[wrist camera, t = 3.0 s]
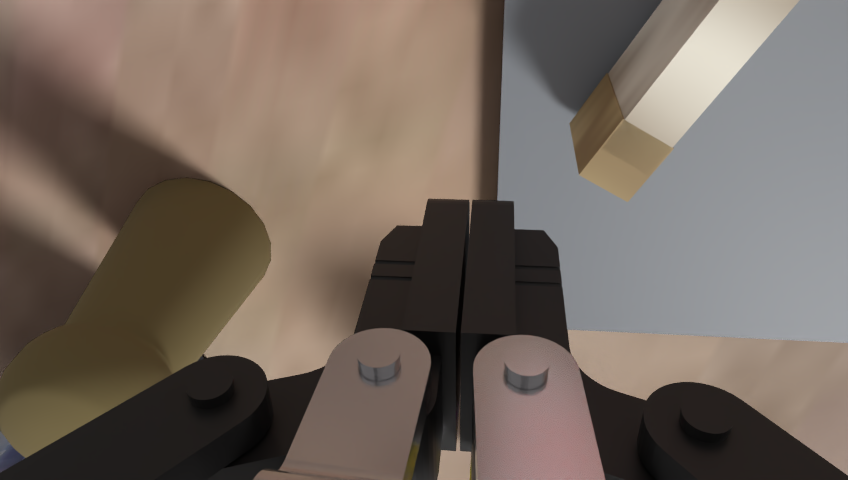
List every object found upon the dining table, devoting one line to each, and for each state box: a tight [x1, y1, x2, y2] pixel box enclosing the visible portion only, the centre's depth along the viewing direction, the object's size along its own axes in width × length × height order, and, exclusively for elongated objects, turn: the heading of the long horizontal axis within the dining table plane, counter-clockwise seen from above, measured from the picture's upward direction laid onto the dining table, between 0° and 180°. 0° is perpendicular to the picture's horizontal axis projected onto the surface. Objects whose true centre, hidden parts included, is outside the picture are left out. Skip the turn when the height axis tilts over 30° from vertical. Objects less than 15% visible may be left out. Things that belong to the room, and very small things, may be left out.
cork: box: [0, 178, 271, 458], centre depth 24 cm, size 6×6×11 cm
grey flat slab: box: [497, 0, 848, 343], centre depth 21 cm, size 24×19×2 cm
